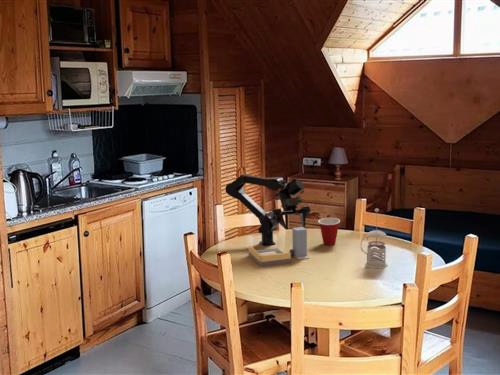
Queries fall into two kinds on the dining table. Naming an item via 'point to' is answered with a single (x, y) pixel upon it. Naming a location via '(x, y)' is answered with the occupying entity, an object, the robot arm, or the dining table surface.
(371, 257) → the french press
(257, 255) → the wooden frame
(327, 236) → the plastic cup
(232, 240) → the dining table surface
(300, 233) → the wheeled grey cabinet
